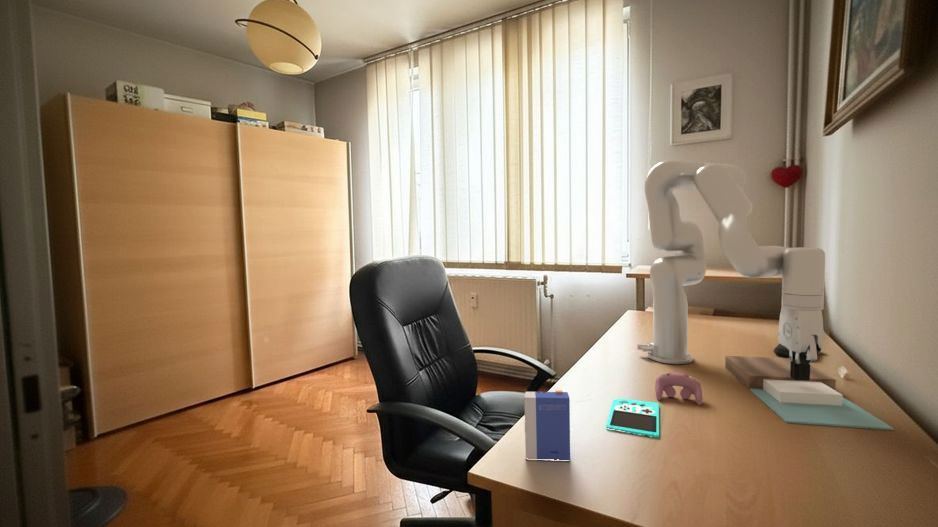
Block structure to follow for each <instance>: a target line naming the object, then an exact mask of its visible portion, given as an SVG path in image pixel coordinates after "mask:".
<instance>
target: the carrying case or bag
mask: <svg viewBox="0 0 938 527" xmlns="http://www.w3.org/2000/svg"><path fill="white" fill-rule="evenodd" d="M822 352H823V351H822ZM822 352H821V353H822ZM773 353H774V354H775V355H776V356H777V355H778V356H777V357H781V356H782V357H781V358H787V357H788V358H790V354H789V350H788V349H787V348H786V347H785V346H783V345H781V344H780V343H779V342H778V344H777V346H775V347H774V348H773ZM821 353H820V354H821Z"/></svg>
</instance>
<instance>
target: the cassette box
mask: <svg viewBox="0 0 938 527" xmlns="http://www.w3.org/2000/svg"><path fill="white" fill-rule="evenodd" d="M763 389H764V390H765V391H766V392H768V393H769V394H770V395H771V396H773V397H774V398H775V399H777V400H778V401H779V402H785V403H803V404H821V405H840V406H842V404H843V397H844V395H843V394H842V393H841V392H839V391H838V390H836V389H835V390H834V389H832V388H830V387H828V386H827V385H825V384H823V383H822V382H815V381H792V380H769V379H763Z"/></svg>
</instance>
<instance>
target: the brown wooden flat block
mask: <svg viewBox="0 0 938 527" xmlns="http://www.w3.org/2000/svg"><path fill="white" fill-rule="evenodd" d="M724 358H725V359H724V361H725V362H724V363H725V366H724V368H725V369H726V370H727V371H728V372H729V373H730V374H731V375H732V376H734V377H735V378H736V379H737V380H738V381H739V382H740V383H742V384H743V385H744V387H746V388H747V389H748V390H750V388H752V389H763V379H769V380H792V381H806V380H794V379H793V378H791V377H790V365H791V360H790V358H787V357H770V356H769V357H763V356H739V355H738V356H737V355H736V356H734V355H725V356H724ZM808 381H815V382H822V383H823V384H825V385H827V386H828V387H830V388H832V389H834V390H835V391H836V388H837V387H836V385H837V384H836V383H837V382H836V381H837V379H836V378H834V377H832V376H830V375H829V374H827V373H825V372H824V371H822V370H819V369H818V368H816V367H815V366H813V365H812V364H810V380H808Z"/></svg>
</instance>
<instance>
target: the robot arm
mask: <svg viewBox="0 0 938 527" xmlns="http://www.w3.org/2000/svg"><path fill="white" fill-rule="evenodd" d="M746 183H747V175H746V173H745V171H744V170H743V168H741V167H740V166H738V165H736V164H731V163H729V164H728V163H718V162H717V163H715V162H714V163H712V162H702V161H693V160H682V159H681V160H679V159H667V160H662V161H660V162H658V163H657V164H655V165H654V166H652V168H651V169H649V172H648V173H647V175H646V177H645V180H644V193H645V200H646V203H647V209H648V220H649V221H648V222H649V230H650V237H651V238H650V239H651V242H652V243H651V244H652V246H653V248H654V249H656V250H657V251H659V252H665V253H667V252H668V253H669V252H674V255H667V256H662V257H659V258H658V259H656V260H654V262H652V263H651V266H650V269H649V278H650V283H651V288H652V290H651V291H652V306H653V307H652V340H650V343H647V344H643V343H637V344H636V350H637V351H642V352H644V353H645V352H647V357H648V358H649V359H650V360H652V361H655V362H659V363H663V364H671V365H685V364H690V363H692V362H693V361H694V356H693V355H692V354H691V353H689V352H688V326H689V325H688V321H689V318H688V317H689V316H688V312H689V308H688V305H689V304H688V296H687V294H686V291H685V288H684V286H685V287H687V286H693V285H697V284H699V283H701V282H702V281H703V280H704V278H705V277H706V272H707V263H706V253H705V252H706V251H705V245H704V237H703V233H702V231H701V228H700V227H699V225H697V224H696V222H693V221H690V220H684V219H681V214H680V205H679V203H678V200H677V198H676V196H675V195H674V193H673V191H674V190H680V191H681V190H682V191H683V190H684V191H685V190H686V191H697V192H698V193H699V195H700V196H701V198H702V199H703V201H704V202H705V204H706V205H707V207H708V209H709V210H710V211H711V213H712V216H714V218H715V219H716V222H717V224H718V227H717V231H718V241H719V244H720V247H721V249H722V251H723V254H725V255H724V256H726V258H727V260H728V261H729V263H730V265H731V266H732V267H733V268H734V270H735V271H736V272H737V273H738V274H740V275H742V277H745V278H747V279H760V278H761V279H762V278H769V277H771V278H772V277H778V276H782V277H781V278H782V280H781V308H780V313H779V318H778V319H779V321H778V332H777V342H778V344H779V343H780V344H781V345H783V346H785V347H786V348H787V349H788V350H789V354H790V360H791V365H790V377H791V378H793V379H794V380H806V381H808V380H810V365H812V363H813V361H818V355H819V354H821V352H823V350H824V341H825V340H824V338H825V337H824V319H823V310H824V309H825V308H824V304H825V280H826V279H825V276H826V253H825V251H824V250H823V249H822V248H819V247H812V246H811V247H810V246H809V247H804V246H803V247H799V246H798V247H785V246H781V245H762V246H758V244H757V243H756V241H755V240H754V239H753V237H752V234H751V233H750V231H749V229H748V226H747V217H748V216H749V215H751V213H752V211H753V208H754V205H753V204H752V202H751V200H750V199H749V198H748V196H747V195H746V194H745V192H744V191H743V189H744V188H745V187H746Z"/></svg>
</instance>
